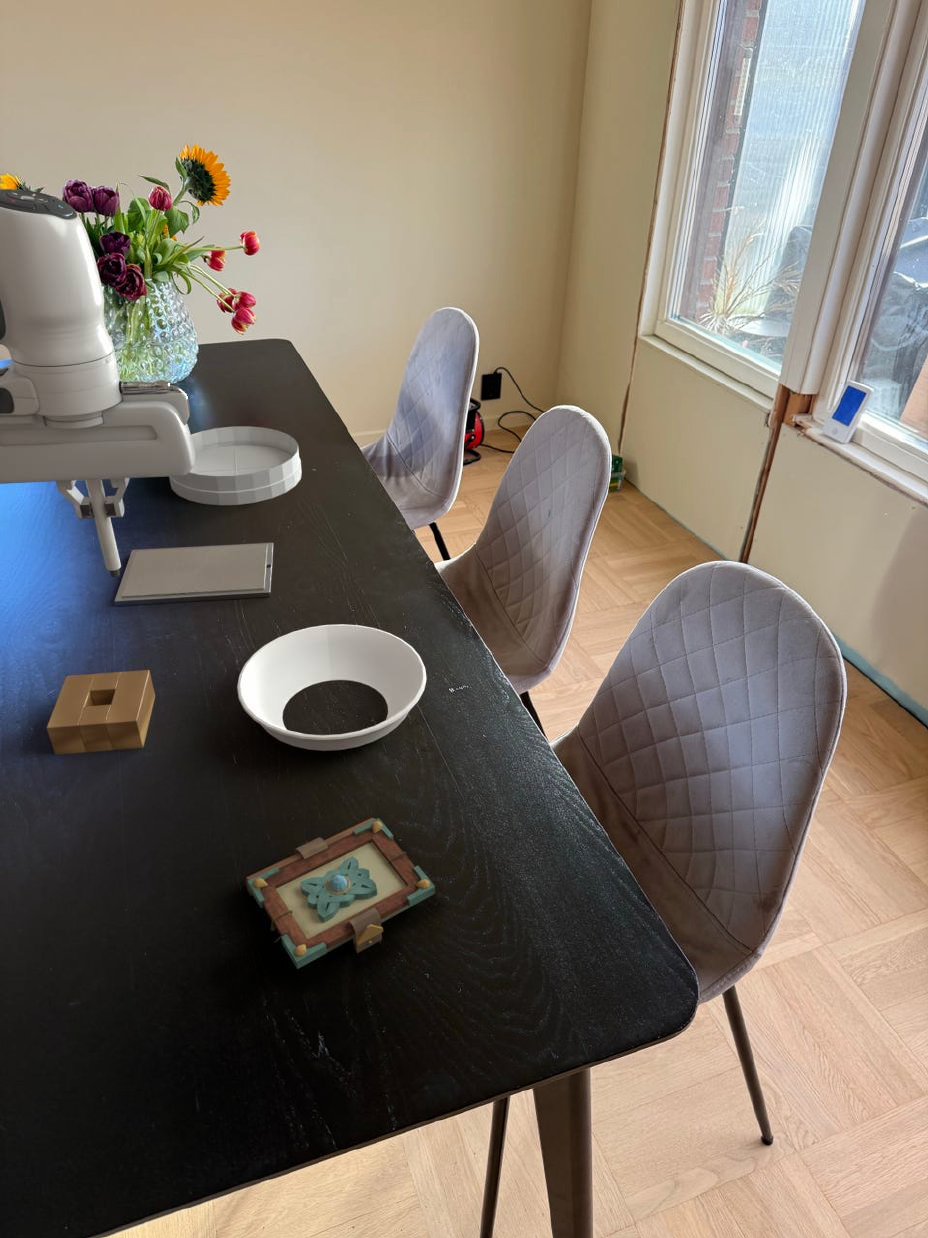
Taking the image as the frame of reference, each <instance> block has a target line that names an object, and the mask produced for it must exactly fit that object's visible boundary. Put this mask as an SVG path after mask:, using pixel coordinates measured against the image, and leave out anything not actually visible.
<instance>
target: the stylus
mask: <svg viewBox="0 0 928 1238" xmlns="http://www.w3.org/2000/svg"><path fill="white" fill-rule="evenodd" d="M84 481H85V484H86V490H87V494H88V497H89V498H90V502H91V506H92V511H93V515H94V518H93V519H94V523H95V527H96V532H97V536H98V540H99V545H100V548H101V553H102V557H103V561H104V564H105V569H106V570H107V571H109V573H110V577H111V578H119V577H120V575H121V573H120V572H121V571H120V569H121V568H122V564H121V560H120V555H119V550H118V547H117V542H116V541H117V540H116V538H115V533H114V528H113V525H112V519H111V518H108V517H107V515H106V512H107V511H106V510H105V506H104V502H105V501H106V497H107V496H106V494H105V488H104V485H103V484H104V483H103V479H98V480H84Z"/></svg>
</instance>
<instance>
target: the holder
mask: <svg viewBox="0 0 928 1238" xmlns="http://www.w3.org/2000/svg"><path fill="white" fill-rule="evenodd" d="M155 700H156V693H155V689H154V684H153V679H152V675H151V670H149V669H144V670H130V671H129V670H128V671H117V672H116V671H115V672H100V673H90V674H89V673H88V674H87V673H85V674H74V675H66V676H65V678H64V682H63V684H62V686H61V689H60V691H59V694H58V696H57V699H56V702H55V704H54V707H53V710H52V713H51V714H50V715H51V716H50V718H49V720H48V723H47V726H46V731H47V734H48V737H49V739H50V743H51V746H52V749H53V752H54V755H55V756H59V755H68V754H69V755H70V754H72V755H73V754H82V753H83V754H85V753H97V752H106V751H107V752H108V751H119V750H131V749H143V748H144V746H145V741H146V738H147V733H148V730H149V729H148V728H149V725H150V722H151V721H150V720H151V716H152V711H153V708H154V703H155Z"/></svg>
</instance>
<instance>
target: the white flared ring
mask: <svg viewBox="0 0 928 1238" xmlns="http://www.w3.org/2000/svg"><path fill="white" fill-rule="evenodd" d="M329 681H351V682H357V683H361V684H363V685H367V686H369V687H370V688H372V689H374V690H376V691H377V692H378V693H379V694H380V695H381V696H382V697H383V699H384V700H385V702H386V705H387V715H386V719H385V720H383V721H382V722H380V723H378V724H375V725H373V726H370V727H367V728H363V729H361V730H356V731H351V732H346V733H340V734H308V733H302V732H298V731H292V730H289V729H287V727H286V726H285V723H284V719H283V716H284V710H285V708H286V705H287V704H288V702H289V701H290V699H292V698H293V697H294V696H295V695H296V694H298V693H299V692H300V691H302V690H304V689H306V688H308V687H310V686H313V685H316V684H319V683H323V682H329ZM426 683H427V672H426V667H425V665H424V662H423V660H422V657H421V656H420V654H419V653H418V652H417V651H416V649H415V648H414V647H413V646H412V645H410V644H409V643H407V642H406V641H404V639H402V638H401V637H398V636H396V635H394V634H392V633H390V632H387V631H385V630H381V629H378V628H376V627H370V626H364V625H357V624H344V623H343V624H341V623H340V624H325V625H323V624H322V625H317V626H316V625H315V626H310V627H306V628H302V629H298V630H295V631H292V632H289V633H287V634H284V635H282V636H279V637H277V638H275V639H273V640H272V641H270V642H268V643H266V644H264V645H263V646H262V647H260V648H259V649H258V650H256V652H254V653H253V654H252V655H251V657H249V659H248V660H246V662H245V664H244V665H243V667H242V669H241V671H240V673H239V676H238V680H237V686H236V689H237V695H238V700H239V702H240V705H241V706H242V708H243V711H245V712H246V714H248V715H249V716H250V717H251V718H252V720H253V721H255V722H256V723H258V724H259V725H261V727H262V728H263V729H264V730H265V731H266V732H267V733H268V734H269V735H271V736H272V737H274V738H275V739H277V740H278V741H280V742H283V743H285V744H287V745H290V746H292V747H296V748H300V749H305V750H309V751H310V750H311V751H323V752H327V751H342V750H347V749H353V748H358V747H361V746H364V745H367V744H370V743H374V742H375V741H377V740H380V739H381V738H383V737H385V736H387V735H388V734H389V733H392V731H394V730H395V729H396V728H397V727H398V726H400V725H401V724H402V722H403V721H404V720H405V719H406V717H407V716H408V714H409V712H410V711H411V710H412V709H413V708H414V707H415V705H416V704H417V703H418V702H419V700H420V699H421V697H422V695H423V693H424V691H425V688H426Z"/></svg>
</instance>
